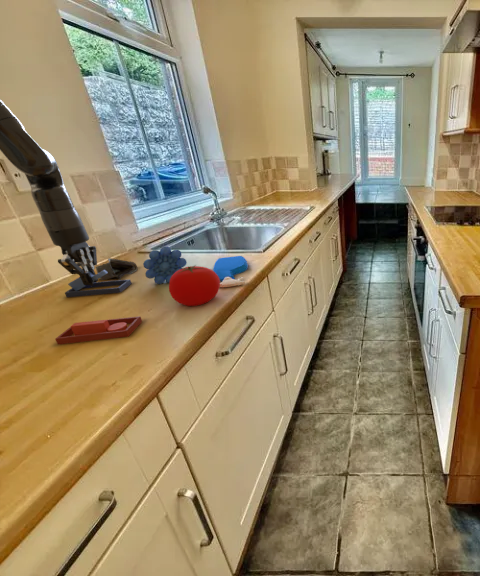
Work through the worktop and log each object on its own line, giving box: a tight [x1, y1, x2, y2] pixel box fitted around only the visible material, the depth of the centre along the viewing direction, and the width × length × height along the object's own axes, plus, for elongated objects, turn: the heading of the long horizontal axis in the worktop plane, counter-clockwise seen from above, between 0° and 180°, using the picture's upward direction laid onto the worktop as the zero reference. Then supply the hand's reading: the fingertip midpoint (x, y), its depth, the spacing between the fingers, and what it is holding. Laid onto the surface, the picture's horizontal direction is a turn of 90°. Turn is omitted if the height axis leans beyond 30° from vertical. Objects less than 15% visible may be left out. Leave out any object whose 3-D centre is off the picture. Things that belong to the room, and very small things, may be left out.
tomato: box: [168, 264, 221, 307], centre depth 87 cm, size 11×12×10 cm
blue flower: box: [142, 246, 187, 285], centre depth 100 cm, size 12×7×12 cm, turn 115°
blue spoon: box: [67, 270, 108, 291], centre depth 94 cm, size 10×4×3 cm, turn 104°
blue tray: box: [64, 278, 132, 298], centre depth 95 cm, size 14×7×2 cm, turn 103°
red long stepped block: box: [70, 319, 129, 336], centre depth 73 cm, size 10×4×3 cm, turn 103°
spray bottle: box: [212, 255, 249, 288], centre depth 107 cm, size 3×11×24 cm
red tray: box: [54, 315, 143, 345], centre depth 73 cm, size 14×7×2 cm, turn 103°
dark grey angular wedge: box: [95, 257, 139, 281], centre depth 106 cm, size 10×7×12 cm
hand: (91, 283), depth 94 cm, fingers closed on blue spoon
